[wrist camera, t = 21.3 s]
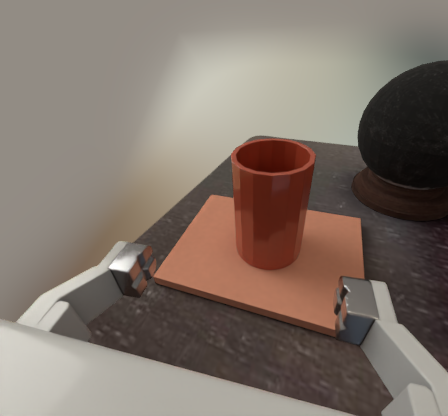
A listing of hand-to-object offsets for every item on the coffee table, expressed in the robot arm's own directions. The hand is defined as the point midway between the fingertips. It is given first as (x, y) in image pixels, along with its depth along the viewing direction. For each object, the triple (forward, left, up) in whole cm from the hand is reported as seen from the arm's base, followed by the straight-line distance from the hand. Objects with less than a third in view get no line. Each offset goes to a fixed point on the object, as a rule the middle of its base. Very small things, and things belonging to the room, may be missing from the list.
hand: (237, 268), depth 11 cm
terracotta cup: (-1, +12, -10) cm, 15 cm away
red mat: (-1, +12, -11) cm, 16 cm away
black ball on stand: (+13, +27, -11) cm, 32 cm away
